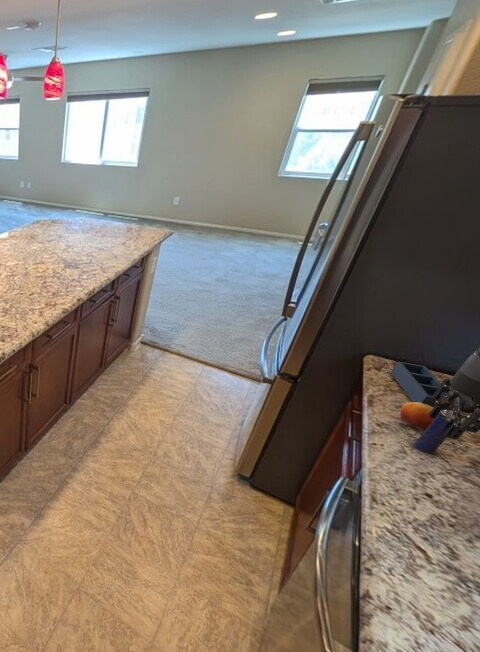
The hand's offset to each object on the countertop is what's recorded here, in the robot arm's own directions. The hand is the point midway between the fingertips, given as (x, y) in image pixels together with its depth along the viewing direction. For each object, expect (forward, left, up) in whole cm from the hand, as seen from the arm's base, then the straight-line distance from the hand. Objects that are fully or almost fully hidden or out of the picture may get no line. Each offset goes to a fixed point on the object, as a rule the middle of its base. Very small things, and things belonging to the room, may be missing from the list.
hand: (441, 427), depth 96 cm
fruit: (-2, -10, -8) cm, 13 cm away
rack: (-9, -28, -8) cm, 30 cm away
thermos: (0, 0, -8) cm, 8 cm away
